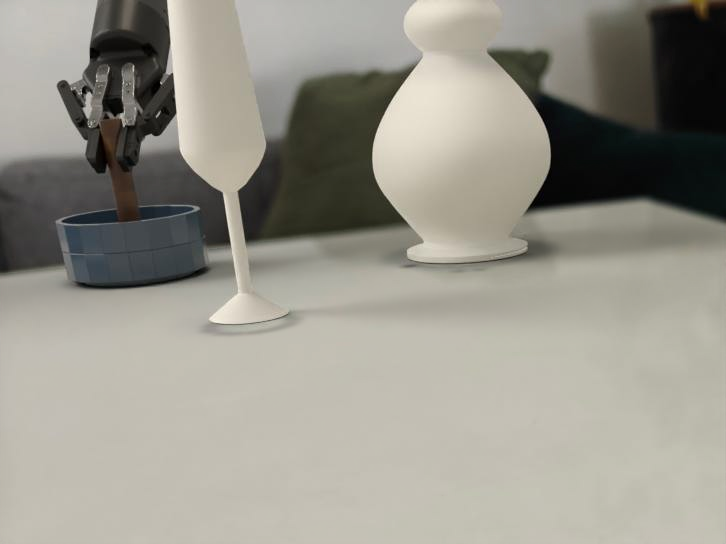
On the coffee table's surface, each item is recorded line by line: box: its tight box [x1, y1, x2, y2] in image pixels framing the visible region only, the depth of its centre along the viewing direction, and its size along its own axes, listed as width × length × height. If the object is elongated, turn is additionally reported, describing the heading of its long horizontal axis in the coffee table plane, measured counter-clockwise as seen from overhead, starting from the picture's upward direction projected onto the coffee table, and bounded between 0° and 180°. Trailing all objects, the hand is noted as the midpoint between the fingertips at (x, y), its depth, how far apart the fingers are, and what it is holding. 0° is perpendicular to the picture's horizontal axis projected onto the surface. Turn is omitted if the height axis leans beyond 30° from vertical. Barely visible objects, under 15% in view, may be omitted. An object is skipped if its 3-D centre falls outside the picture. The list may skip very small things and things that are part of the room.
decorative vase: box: [371, 0, 552, 264], centre depth 111 cm, size 18×18×25 cm
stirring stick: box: [99, 117, 141, 223], centre depth 113 cm, size 5×5×14 cm
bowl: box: [55, 204, 210, 287], centre depth 115 cm, size 14×14×6 cm
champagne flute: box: [167, 0, 290, 325], centre depth 89 cm, size 7×7×24 cm
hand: (110, 166), depth 110 cm, fingers closed on stirring stick
